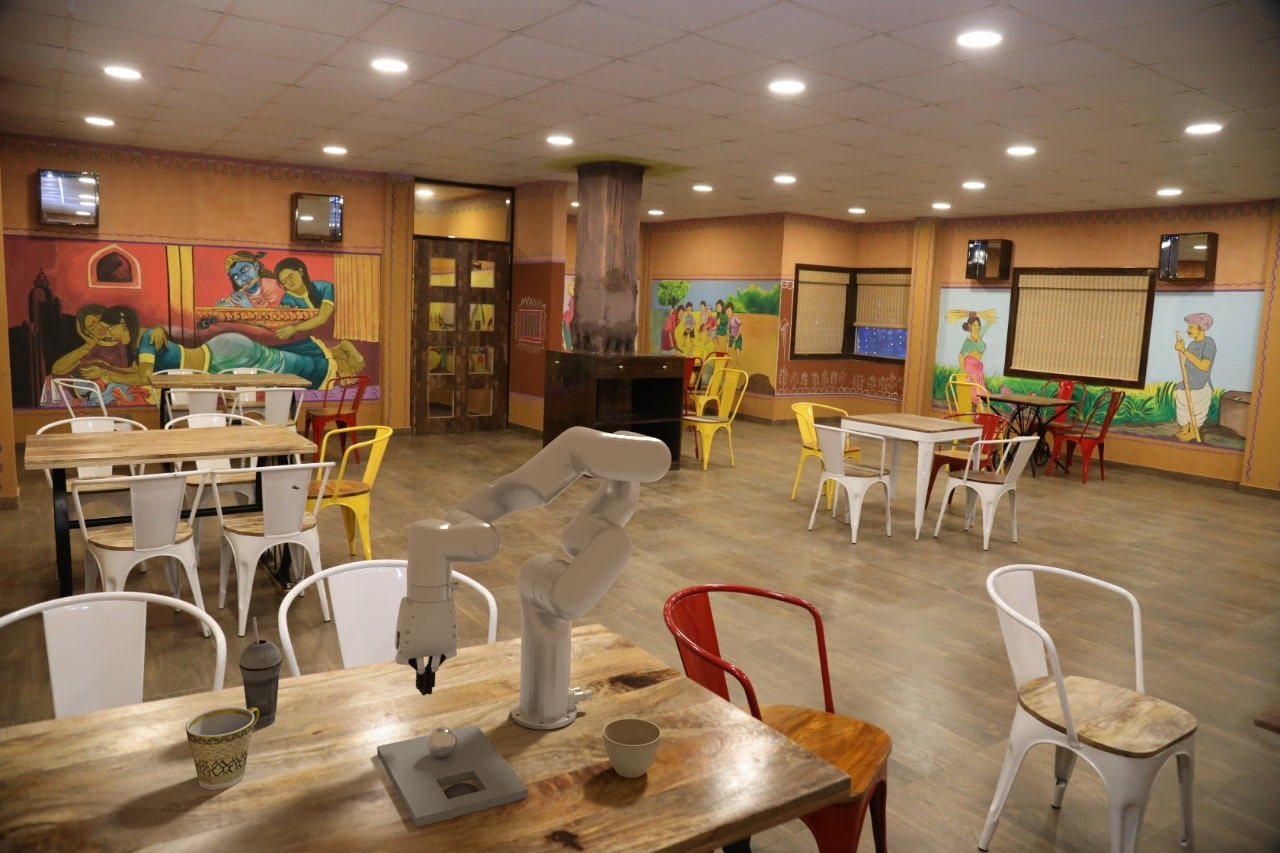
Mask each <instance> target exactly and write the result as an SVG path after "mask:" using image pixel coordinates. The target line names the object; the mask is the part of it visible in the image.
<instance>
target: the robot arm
mask: <svg viewBox="0 0 1280 853" xmlns="http://www.w3.org/2000/svg"><path fill="white" fill-rule="evenodd" d="M671 464H672V453H671V451H670V448H669V447H668V446H667V445H666V443H665V442H664V441H663V440H661V439H658V438H656V437H652V436H648V435H645V434H641V433H637V432H633V431H632V432H631V431H627V430H618V431H615V432H613V433H609V432H605V431H600V430H598V429H597V430H596V429H593V428H589V427H584V426H573V427H569V428H568V429H566V430H565V431H563V432H561V433H560V434H559V435H558V436H557V437H555V438H554V439H553V440H552V441H551V442H550V443H548V444H547V445H546V446H545V447H544V448H543V449H541V450H540V451H539V452H538V453H536V454H535V455H534V456H532V458H530V459H529V460H527V462H526V463H524V464H523V465H521V466H520V467H519V468H517V469H516V470H514V471H513V472H511V473H508V474H506V475H505V474H504V475H503V476H501V477H499V478H497V479H496V480H495V479H494V480H492V481H491V482H488V483H486V484H484V485H482V486H481V487H479V488H477V489H476V490H475V491H473V492H471V493H470V494H468V495H467V496H466V497H465V498H464V499H462V500H460V502H459V503H457V504H456V505H455V506H454V507H453V508H452V509H451V510H449V512H447V513H446V515H445V516H444V518H443V519H438V518H433V519H432V518H430V519H429V518H428V519H419V520H417V521H414V522H413V523H412V524H411V525H410V527H409V531H408V543H407V544H408V546H407V547H408V548H407V549H408V550H407V575H406V577H407V579H406V596H404V597H401V600H400V604H399V608H398V615H397V620H396V628H395V635H394V637H395V638H394V647H395V650H396V654H395V658H394V660H395V662H396V664H397V665H404V666H410V667H411V668H412V669H413V670H415V689H416V690H418V692H420V694H421V695H422V696H427V695H433V688H435V687H436V672H438V670H439V667H441V665H442V664H443V663H444V662H445V661H446V660H450V659H452V658H455V657H456V656H457V655H458V652H457V647H458V639H459V638H458V637H459V636H458V634H459V633H458V616H457V615H458V614H457V606H456V602H455V601H456V600H455V597H454V595H453V591H454V592H455V590H456V591H457V590H459V588H460V584H459V581H453V580H452V578H453V576H452V575H453V563H458V564H459V563H462V564H482V563H486V562H489V561H491V560H492V559H494V558H495V557H496V556H497V555H498V553H499V552H500V550H501V548H502V538H501V535H500V532H499V531H498V529H497V528H496V527H495V526H494V525H492V524H493V523H494V522H496V521H498V520H499V519H501V518H503V517H505V516H507V515H511V514H512V513H516V512H521V511H528V510H529V511H530V510H534V509H539V508H543V507H546V506H547V505H549V504H551V502H553V500H555V499H556V498H558V496H560V495H561V494H562V492H564V491H565V490H566V489H568V488H569V487H570V486H571V485H572V484H573V483H574V482H576V481H577V480H578V479H580V477H582V476H584V475H586V476H589V477H591V478H595V479H601V482H600V484H599V486H598V488H597V489H596V490H595V492H594V494H593V495H592V496H591V497H590V498H589V499H588V501H587V502H586V503H585V504H584V505H583V506H582V507H581V508H580V509H579V511H578V512H577V513H576V514H575V515H574V516H573V518H571V519H570V521H569V522H567V524H566V526H565V527H564V528H563V530H562V532H561V534H560V537H559V538H560V539H559V540H560V541H559V543H560V546H561V549H562V550H563V552H564V553H565V554H566V555H567V556H568V557H570V558H571V559H572V561H571V562H568V561H567V560H565V559H563V558H561V557H559V556H557V555H554V554H551V553H545V552H544V553H537V554H533V555H532V556H530V557H529V558H528V559H527V560H526V561H525V562H524V563H523V565H522V566H521V568H520V570H519V573H518V579H517V588H518V589H517V590H518V596H519V604H520V614H521V616H520V617H521V631H520V632H521V636H520V676H519V677H520V680H519V700H518V701H516V703H514V705H513V706H512V708H511V718H512V720H513V721H514V722H515V723H516V724H518V725H520V726H522V727H525V728H528V729H532V730H545V731H546V730H554V729H559V728H563V727H565V726H567V725H569V724H571V723H573V722H574V721H575V720H576V718H577V716H578V707H577V706H576V705H577V704H579V702H585V701H590V700H592V699H593V692H592V690H591V689H586V690H581V687H579V686H577V687H573V688H571V659H572V656H571V655H572V654H571V653H572V652H571V651H572V628H573V627H572V621H573V620H574V621H575V620H578V619H579V618H582V617H583V616H585V615H586V614H587V613H588V612H589V611H590V610H592V609H593V608H594V606H595V605H596V604H597V603H598V601H600V600H601V598H602V597H603V596H604V595H605V593H606V592H607V591H608V590H609V589H610V587H611V586H612V585H613V584H614V582H616V580H617V579H618V578H619V577H620V575H621V574H622V573H623V572H624V570H625V569H626V568H627V566H628V564H629V562H630V559H631V558H632V557H631V556H632V552H633V541H632V538H631V535H630V534H629V532H628V531H627V530H626V528H624V527H625V525H626V524H627V522H629V520H630V518H631V517H632V516H633V515H634V513H635V512H636V510H637V507H638V504H639V501H640V494H641V493H640V492H641V485H640V484H641V483H653V482H657V481H659V480H661V479H662V478H663V477H664V476H666V474H667V473H669V470H670V468H671ZM425 658H427V662H426V666H425V660H424V659H425Z"/></svg>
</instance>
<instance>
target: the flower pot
mask: <svg viewBox="0 0 1280 853" xmlns="http://www.w3.org/2000/svg"><path fill="white" fill-rule="evenodd" d="M602 738H603V743H604V749H605V751H606V754H607V757H608V759H609V761H610V763H611V765H612V767H613V768H614V771H615V772H616V773H617V774H618V775H619V776H621V777H623V778H626V779H627V778H628V779H635V778H639V777H641V776H644V775H645V773H646V772H647V771H648V770H649V768H650V766H651V765H652V763H653V761H654V760H655V757H656V755H657V752H658V750H659V746H660V743H661V738H662V730H661V728H660V727H659V726H658V725H657V724H656V723H654V722H651V721H649V720H647V719H641V718H632V717H630V718H629V717H628V718H619V719H615V720H612V721H610V722H608V723H607V724H605V726H604V727H603V729H602Z"/></svg>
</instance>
